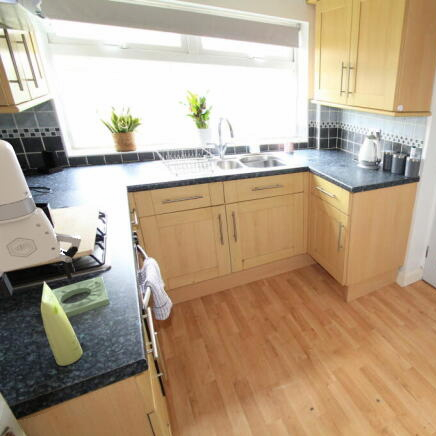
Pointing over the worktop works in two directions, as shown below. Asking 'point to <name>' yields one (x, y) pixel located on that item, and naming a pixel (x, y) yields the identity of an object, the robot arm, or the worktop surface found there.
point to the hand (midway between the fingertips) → (41, 284)
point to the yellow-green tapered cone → (59, 330)
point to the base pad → (89, 303)
